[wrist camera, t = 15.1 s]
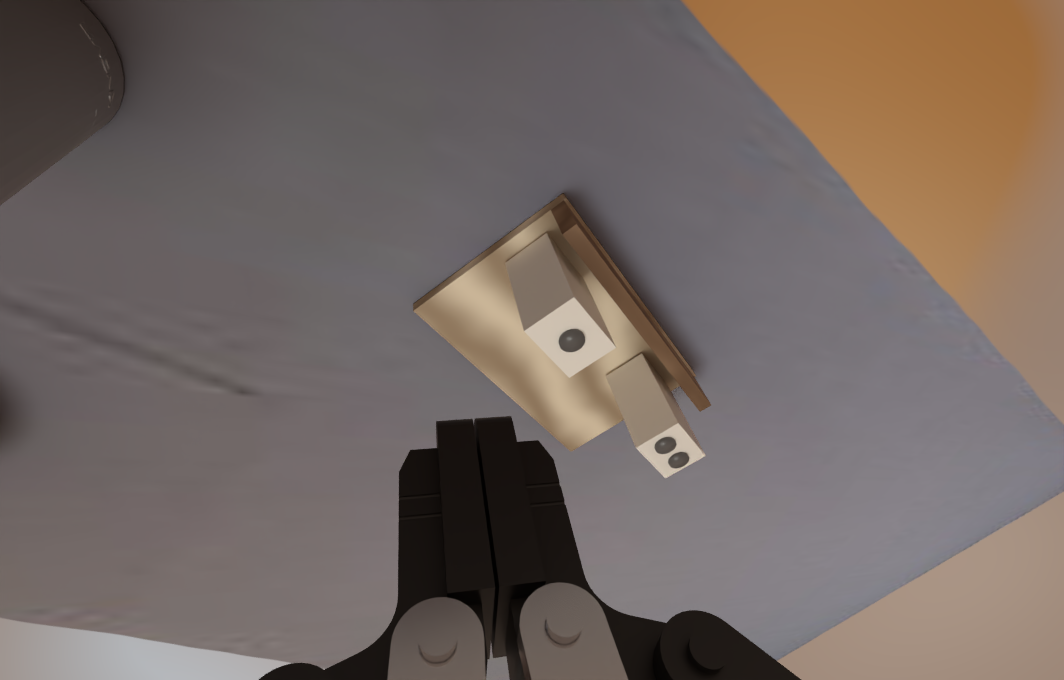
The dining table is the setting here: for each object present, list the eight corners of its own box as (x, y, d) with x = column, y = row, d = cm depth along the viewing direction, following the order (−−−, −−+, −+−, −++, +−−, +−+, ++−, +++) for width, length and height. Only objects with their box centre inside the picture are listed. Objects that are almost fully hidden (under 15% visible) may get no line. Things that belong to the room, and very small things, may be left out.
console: (568, 444, 61) (580, 481, 57) (413, 303, 47) (414, 340, 43) (692, 369, 57) (713, 404, 53) (563, 193, 43) (578, 222, 39)
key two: (633, 406, 57) (666, 480, 50) (605, 376, 54) (636, 450, 47) (668, 386, 56) (706, 457, 49) (641, 353, 53) (679, 425, 46)
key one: (544, 307, 48) (570, 380, 41) (505, 263, 45) (524, 333, 37) (584, 280, 47) (617, 349, 40) (546, 232, 44) (575, 299, 36)
